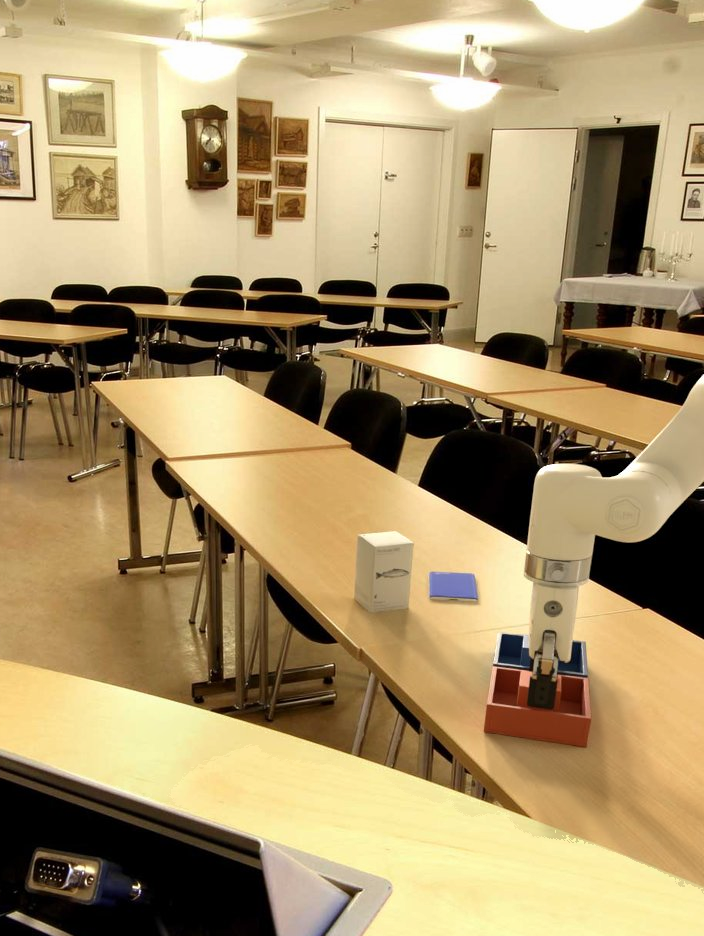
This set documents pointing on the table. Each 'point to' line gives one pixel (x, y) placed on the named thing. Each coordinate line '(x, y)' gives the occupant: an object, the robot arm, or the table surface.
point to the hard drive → (452, 586)
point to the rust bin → (534, 723)
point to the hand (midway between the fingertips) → (540, 690)
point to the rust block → (525, 686)
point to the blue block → (527, 653)
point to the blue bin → (510, 658)
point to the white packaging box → (383, 571)
